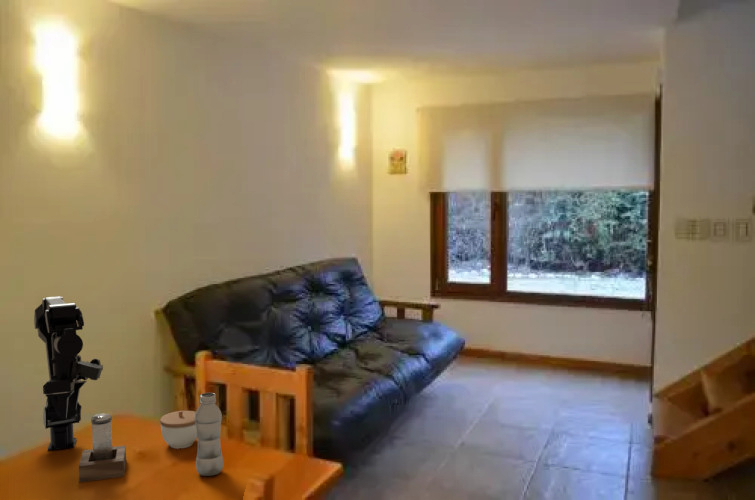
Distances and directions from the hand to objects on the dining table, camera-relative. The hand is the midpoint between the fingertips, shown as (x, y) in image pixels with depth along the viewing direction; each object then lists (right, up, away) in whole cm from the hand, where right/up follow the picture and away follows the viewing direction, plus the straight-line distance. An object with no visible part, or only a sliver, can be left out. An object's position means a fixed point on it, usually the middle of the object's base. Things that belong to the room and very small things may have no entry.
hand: (68, 414), depth 163 cm
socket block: (+10, -13, -2) cm, 17 cm away
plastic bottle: (+37, -14, -4) cm, 39 cm away
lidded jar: (+24, -12, +15) cm, 31 cm away
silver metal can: (+10, -12, -3) cm, 16 cm away
